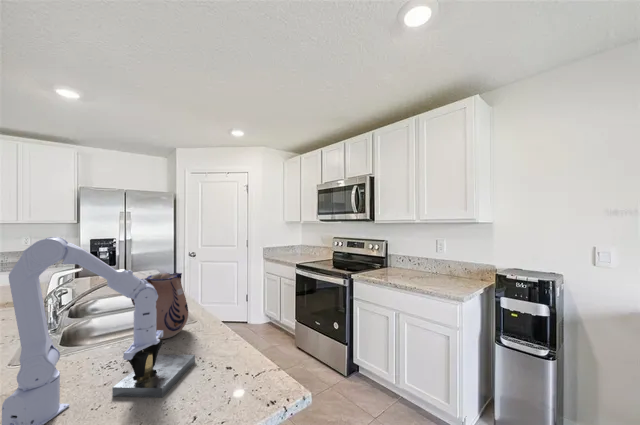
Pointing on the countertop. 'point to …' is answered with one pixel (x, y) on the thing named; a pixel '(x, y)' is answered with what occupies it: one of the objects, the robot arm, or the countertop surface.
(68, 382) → the countertop surface
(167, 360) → the plate
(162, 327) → the ceramic pitcher
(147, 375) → the slip bushing
